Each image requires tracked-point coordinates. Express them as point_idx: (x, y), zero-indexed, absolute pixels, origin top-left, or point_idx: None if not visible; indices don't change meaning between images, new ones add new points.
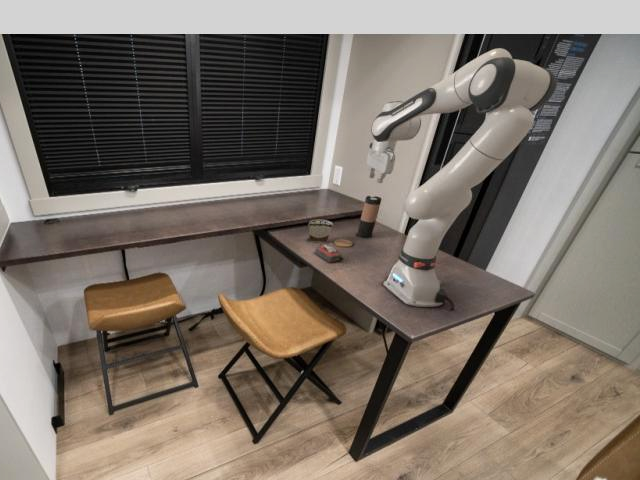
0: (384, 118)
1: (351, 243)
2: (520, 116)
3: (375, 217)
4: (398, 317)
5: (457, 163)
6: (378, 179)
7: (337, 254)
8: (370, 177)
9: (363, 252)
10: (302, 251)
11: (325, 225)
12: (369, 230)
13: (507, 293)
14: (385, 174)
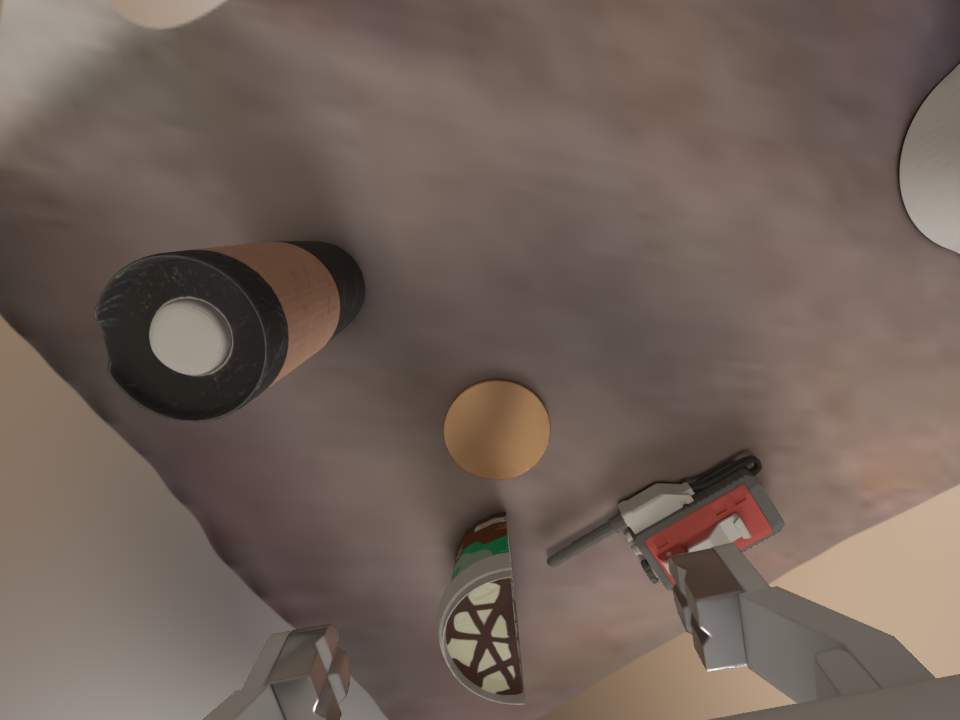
0: None
1: (500, 386)
2: None
3: (307, 263)
4: None
5: None
6: (737, 652)
7: (755, 496)
8: (348, 680)
9: (605, 326)
10: (648, 626)
11: (512, 606)
12: (350, 276)
13: None
14: (916, 671)
